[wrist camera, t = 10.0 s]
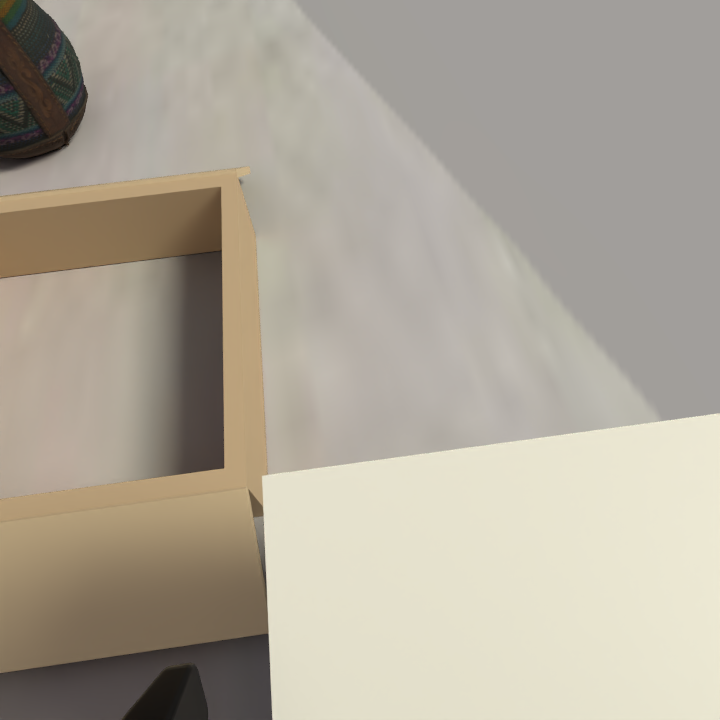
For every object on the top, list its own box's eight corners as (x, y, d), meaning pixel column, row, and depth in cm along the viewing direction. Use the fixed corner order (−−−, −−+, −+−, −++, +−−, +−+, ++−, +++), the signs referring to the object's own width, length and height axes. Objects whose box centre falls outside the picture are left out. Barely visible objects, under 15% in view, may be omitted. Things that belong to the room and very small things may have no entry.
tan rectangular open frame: (275, 633, 16) (250, 628, 13) (-140, 695, 16) (-272, 706, 13) (252, 178, 25) (234, 110, 22) (-10, 210, 25) (-68, 145, 22)
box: (561, 741, 14) (1069, 992, 4) (357, 772, 14) (290, 1128, 4) (516, 563, 16) (758, 408, 6) (338, 589, 16) (262, 475, 6)
